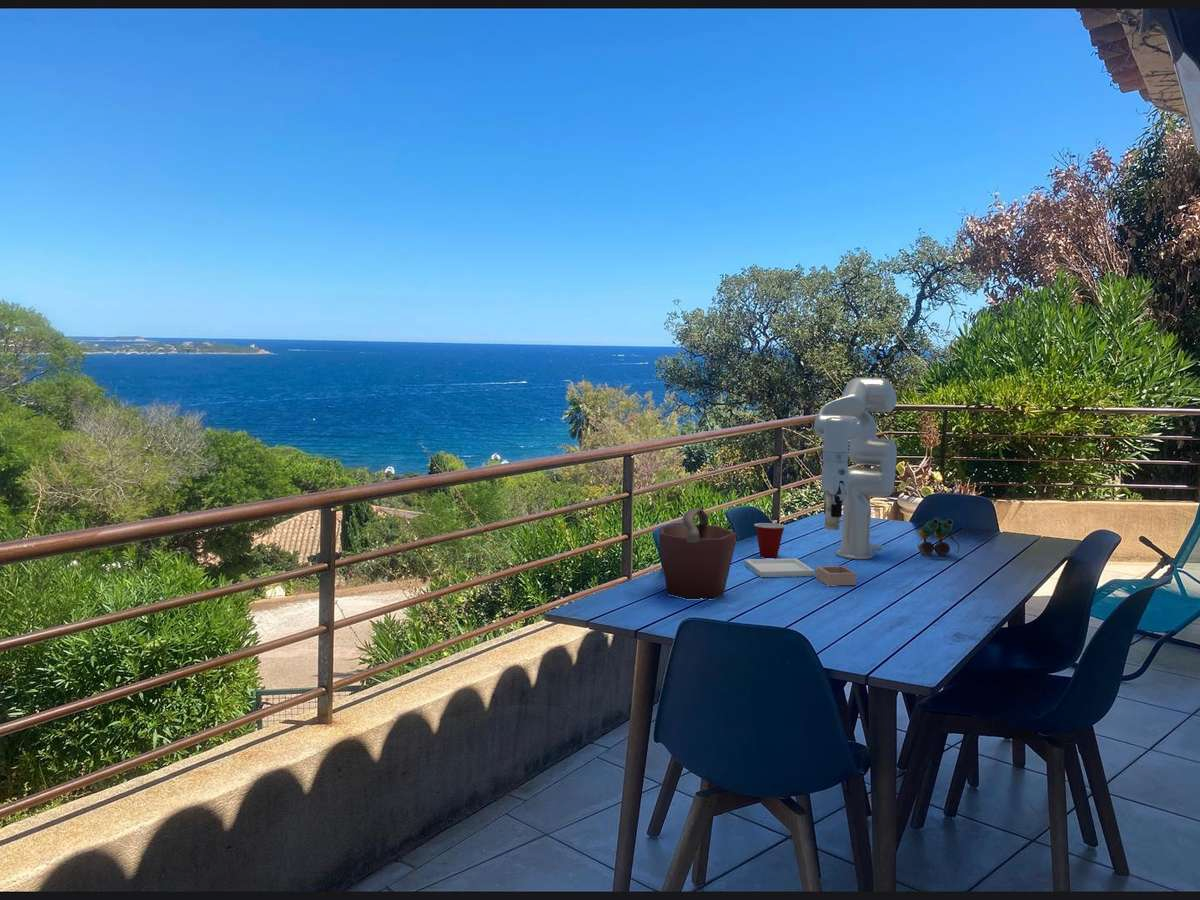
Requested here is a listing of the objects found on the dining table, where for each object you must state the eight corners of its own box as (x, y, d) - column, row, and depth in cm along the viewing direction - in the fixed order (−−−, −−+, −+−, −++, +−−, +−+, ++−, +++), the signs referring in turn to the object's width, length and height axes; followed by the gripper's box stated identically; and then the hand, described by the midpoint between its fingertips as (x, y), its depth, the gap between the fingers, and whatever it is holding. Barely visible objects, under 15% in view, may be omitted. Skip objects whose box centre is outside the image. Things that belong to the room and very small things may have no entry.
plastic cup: (782, 554, 292) (783, 521, 291) (786, 561, 281) (787, 527, 280) (751, 553, 293) (752, 520, 292) (754, 560, 282) (755, 526, 281)
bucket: (709, 609, 226) (711, 520, 223) (639, 596, 238) (641, 511, 235) (742, 589, 247) (745, 507, 244) (677, 578, 259) (679, 499, 256)
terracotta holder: (842, 578, 261) (843, 565, 261) (855, 585, 252) (856, 573, 252) (816, 578, 260) (816, 566, 260) (827, 586, 251) (828, 573, 251)
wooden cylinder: (835, 526, 258) (837, 489, 257) (841, 529, 254) (843, 491, 253) (822, 527, 258) (823, 489, 256) (828, 530, 253) (829, 491, 252)
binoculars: (954, 566, 292) (950, 526, 299) (967, 554, 280) (962, 513, 286) (914, 564, 294) (910, 524, 300) (925, 552, 281) (921, 511, 287)
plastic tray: (795, 564, 278) (795, 558, 278) (814, 576, 263) (814, 570, 262) (744, 565, 276) (744, 559, 275) (760, 577, 260) (760, 571, 260)
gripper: (859, 460, 246) (856, 520, 248) (834, 453, 262) (831, 510, 264) (835, 460, 244) (833, 521, 246) (812, 454, 261) (810, 510, 263)
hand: (832, 514), depth 255 cm, fingers closed on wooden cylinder, 4 cm apart
